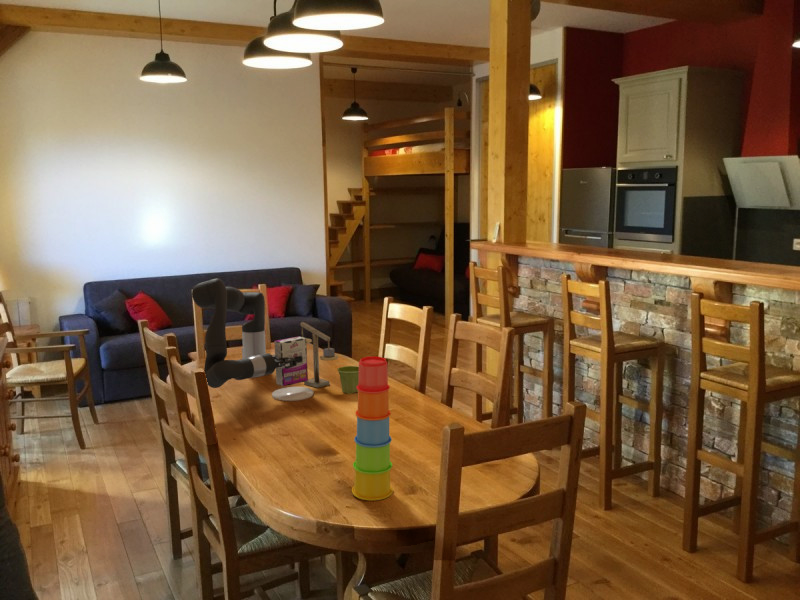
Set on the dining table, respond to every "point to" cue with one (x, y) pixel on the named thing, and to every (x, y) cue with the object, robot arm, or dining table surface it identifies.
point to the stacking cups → (372, 432)
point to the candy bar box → (291, 349)
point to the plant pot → (349, 378)
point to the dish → (292, 393)
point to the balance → (327, 355)
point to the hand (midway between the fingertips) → (296, 357)
